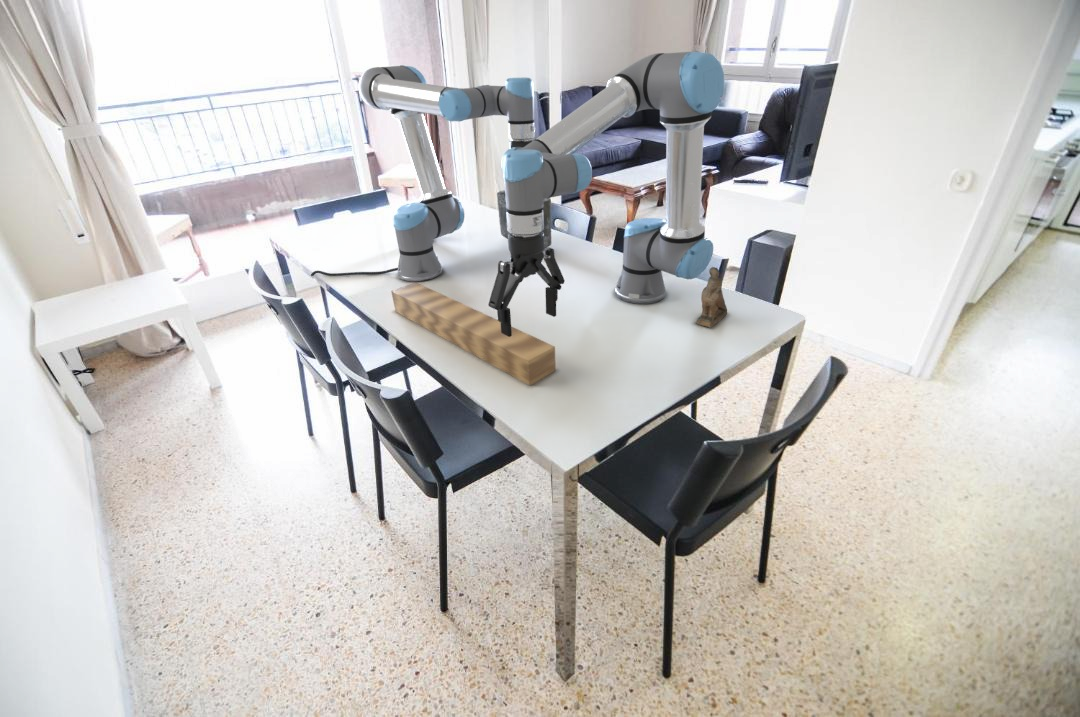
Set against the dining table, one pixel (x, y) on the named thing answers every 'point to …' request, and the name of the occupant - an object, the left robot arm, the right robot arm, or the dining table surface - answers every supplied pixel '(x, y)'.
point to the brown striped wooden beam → (476, 333)
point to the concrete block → (504, 218)
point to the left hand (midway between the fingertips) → (525, 213)
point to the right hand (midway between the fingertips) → (529, 324)
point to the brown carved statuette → (712, 301)
